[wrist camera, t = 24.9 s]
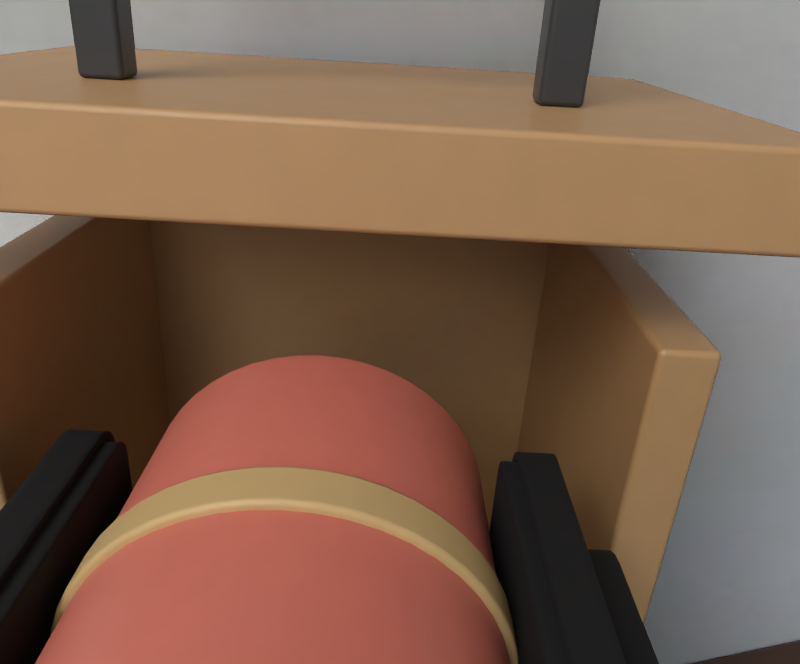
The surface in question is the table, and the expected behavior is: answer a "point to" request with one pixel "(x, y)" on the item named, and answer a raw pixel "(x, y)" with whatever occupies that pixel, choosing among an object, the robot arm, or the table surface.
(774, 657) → the block
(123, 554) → the red cylinder
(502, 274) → the drawer
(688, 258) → the table surface
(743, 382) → the table surface
